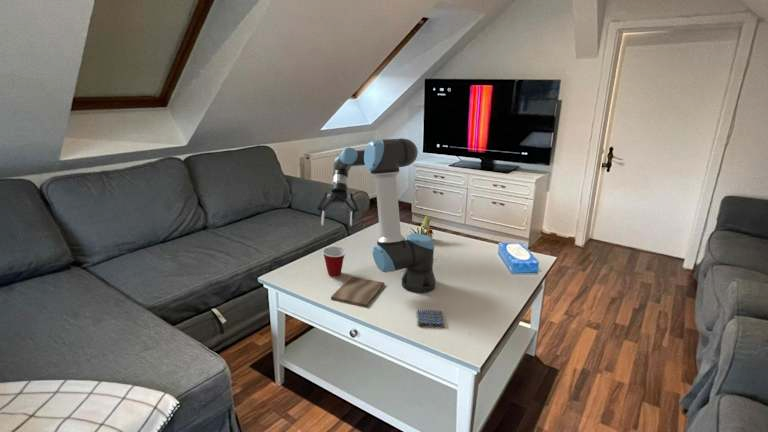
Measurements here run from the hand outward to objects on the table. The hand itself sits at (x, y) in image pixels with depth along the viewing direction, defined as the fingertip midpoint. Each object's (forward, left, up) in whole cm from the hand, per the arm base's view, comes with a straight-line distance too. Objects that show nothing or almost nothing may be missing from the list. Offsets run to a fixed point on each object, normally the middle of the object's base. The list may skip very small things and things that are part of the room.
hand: (336, 224), depth 196 cm
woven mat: (-55, +30, -21) cm, 66 cm away
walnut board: (-21, +21, -21) cm, 36 cm away
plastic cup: (-4, +10, -21) cm, 24 cm away
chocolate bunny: (-33, -45, -21) cm, 59 cm away
